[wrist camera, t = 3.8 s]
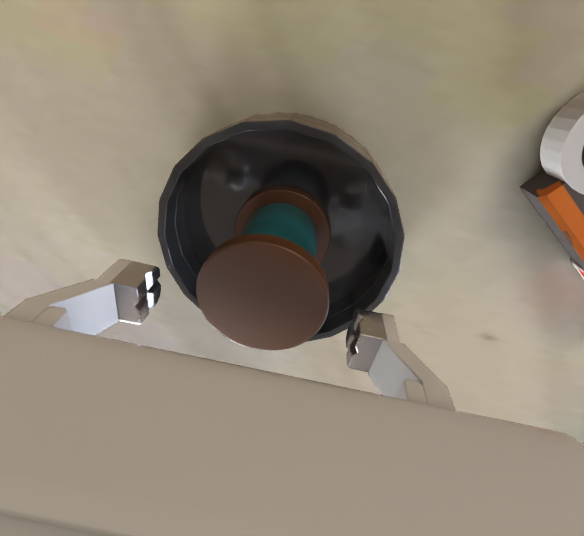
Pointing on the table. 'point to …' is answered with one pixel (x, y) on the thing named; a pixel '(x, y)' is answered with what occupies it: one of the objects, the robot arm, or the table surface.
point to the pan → (295, 173)
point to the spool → (269, 272)
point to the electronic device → (563, 179)
